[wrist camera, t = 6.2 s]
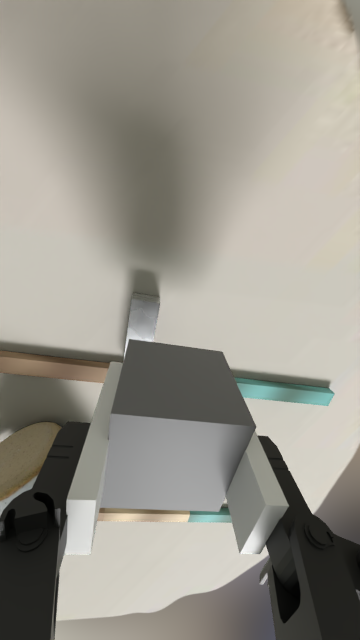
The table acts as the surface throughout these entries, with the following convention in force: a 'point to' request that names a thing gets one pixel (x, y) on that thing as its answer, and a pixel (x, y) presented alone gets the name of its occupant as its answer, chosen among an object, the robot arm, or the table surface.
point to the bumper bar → (142, 317)
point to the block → (174, 430)
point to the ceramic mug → (24, 459)
